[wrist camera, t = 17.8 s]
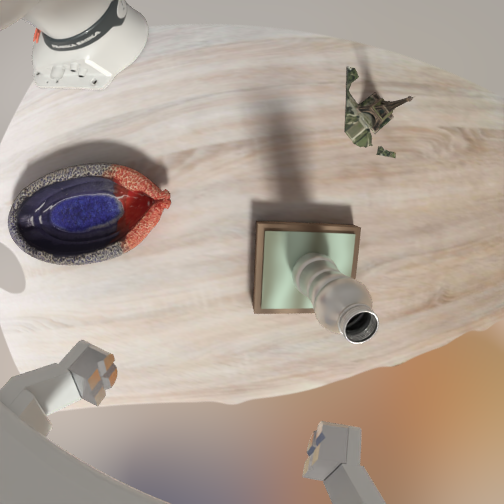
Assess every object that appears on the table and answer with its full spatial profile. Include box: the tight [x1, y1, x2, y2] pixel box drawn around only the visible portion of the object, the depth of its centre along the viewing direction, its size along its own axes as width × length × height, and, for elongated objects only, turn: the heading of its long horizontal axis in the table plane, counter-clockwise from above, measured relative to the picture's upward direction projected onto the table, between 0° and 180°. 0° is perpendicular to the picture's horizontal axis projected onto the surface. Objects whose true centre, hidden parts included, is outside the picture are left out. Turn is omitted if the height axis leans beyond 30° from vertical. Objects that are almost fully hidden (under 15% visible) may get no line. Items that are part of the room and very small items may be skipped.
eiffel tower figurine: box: [345, 67, 414, 158], centre depth 40 cm, size 15×10×13 cm
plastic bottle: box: [292, 253, 379, 344], centre depth 38 cm, size 6×7×20 cm
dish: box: [8, 163, 171, 265], centre depth 44 cm, size 16×31×5 cm, turn 93°
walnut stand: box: [253, 221, 361, 314], centre depth 49 cm, size 16×14×3 cm
